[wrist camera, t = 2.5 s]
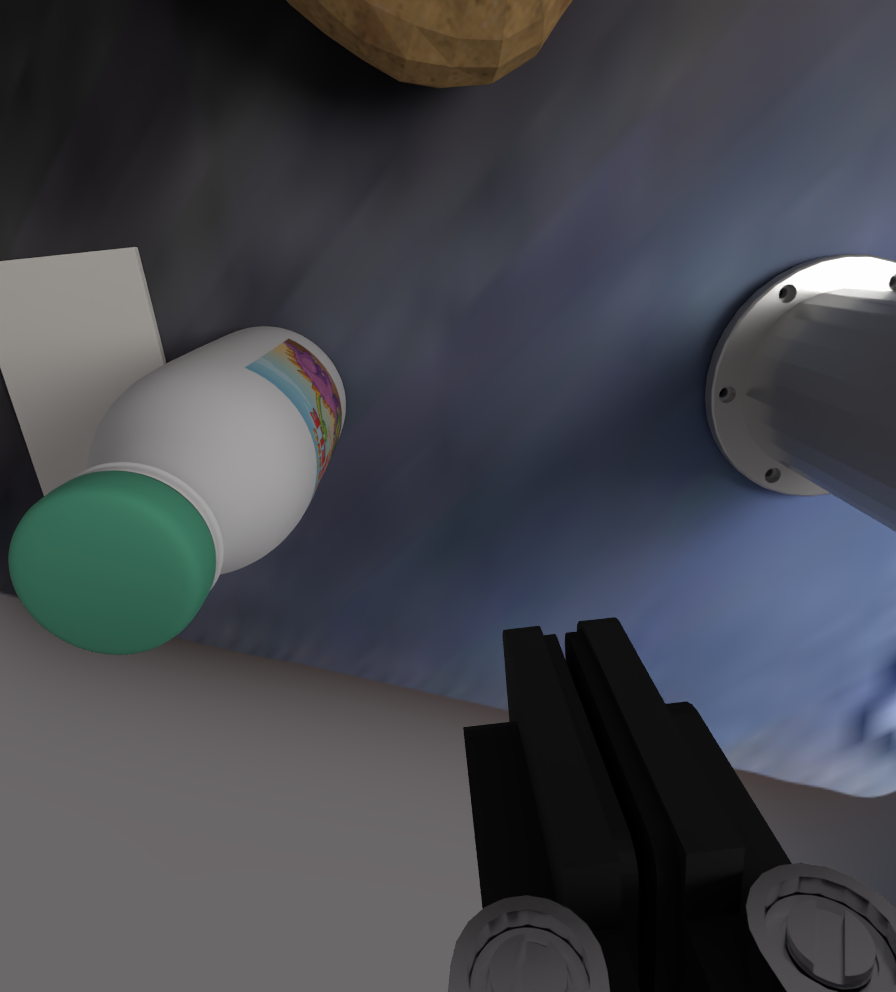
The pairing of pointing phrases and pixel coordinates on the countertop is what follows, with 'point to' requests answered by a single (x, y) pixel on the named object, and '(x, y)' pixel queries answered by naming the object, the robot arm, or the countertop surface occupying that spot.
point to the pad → (73, 349)
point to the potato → (438, 35)
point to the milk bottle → (180, 490)
